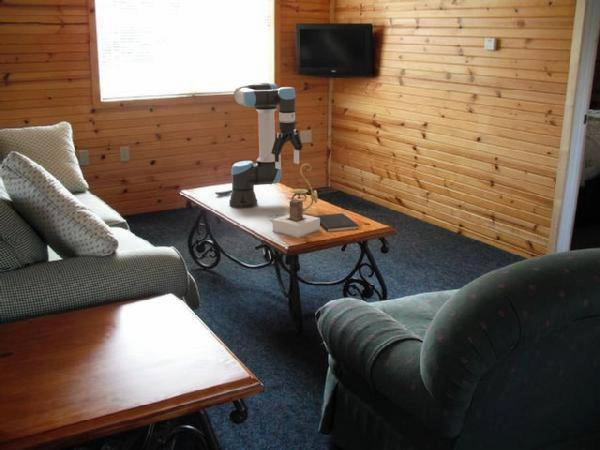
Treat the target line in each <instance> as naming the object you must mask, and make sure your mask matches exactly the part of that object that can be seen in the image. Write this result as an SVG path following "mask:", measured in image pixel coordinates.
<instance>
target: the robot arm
mask: <svg viewBox="0 0 600 450" xmlns="http://www.w3.org/2000/svg"><path fill="white" fill-rule="evenodd" d="M233 98H234V101H235V102H236V104H238V105H241V106H244V107H247V108H248V107H249V108H252V107H253V108H254V110H255V111H256V112H257V117H258V119H257V120H258V122H257V124H258V150H259V151H258V154H259V155H258V157H257V159H256V163H254V162H253V161H252V160H243V161H238V162H235V163H234V164H232V166H231V172H230V173H231V174H230V175H231V188H232V189H231V193H230V199H229V206H230V207H232V208H238V209H242V208H243V209H245V208H246V209H247V208H254V207H256V206H257V205H258V199H257V196H256V193H255V186H260V185H263V186H264V185H270V186H271V185H277V184H278V183H279V182H280V181H281V178H282V169H283V168H282V164H281V163H282V157H281V152H282V150H283V147H284V146H285V144H286V143H288V142H290V143H291V145H292V147H293V148H294V149H293V164H296V165H299V164H300V156H301V155H300V154H301V153H300V152H301V150H302V149H303V147H304V146H303V143H302V140H301V138H300V133H299V129H296V89H295V87H291V86H282V87H280V88H279V87H278V85H277V84H276V83H275V82H258V83H257V82H256V83H245V84H242V85H239V86H238V87H236V88H235V90H234V92H233ZM277 110H278V121H279V122H278V129H279V130H280V133H277V132H276V129H275V128H276V127H275V126H276V125H275V123H276V122H275V112H276V111H277ZM275 132H276V133H275Z"/></svg>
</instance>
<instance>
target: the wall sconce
mask: <svg viewBox="0 0 600 450" xmlns="http://www.w3.org/2000/svg"><path fill="white" fill-rule="evenodd" d="M305 166H308V167H309V168H306V171H308V172H310V171H311V170H312V166H311V164H310V163H303V164H301V166H300V168H299V172H300V175H301V177H302V178H303V180H304V181H305V182H306V184H307V185H308V187H309V189H310V193H311V195H310V199H311V201H310V204H309V205H307V206H306V207H303V211H306V210H308V209H309V208H311V207H312V206H313V205H314V204H313V203H315V204H318V193H317V190H316V189H315V190H313V188H312V185H311V183H310V182H309V180H308V179H307V178H306V177H305V175H304V174H303V167H305ZM309 189H304V188H294V189H290V190H289V192H290V193H292V194H293V195H292V197H291V200H294V199H295V196H297V200H302V201H303V203H305V202H306V201H307V198H308V197H307V195H306V194H307V193H308V192H309ZM302 196H303V197H304V199H301V198H302ZM291 200H290V201H291Z"/></svg>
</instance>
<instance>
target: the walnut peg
mask: <svg viewBox="0 0 600 450" xmlns="http://www.w3.org/2000/svg"><path fill="white" fill-rule="evenodd" d="M302 200H303V199H298V198H297V199H296V198H294V199H293V200H289V214H290V220H291V221H295V222H299V221H302V220H303V215H304V214H303V213H304V212H303V211H304V210H303V208H304V207H303V206H304V202H303V201H302Z"/></svg>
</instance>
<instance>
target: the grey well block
mask: <svg viewBox="0 0 600 450" xmlns="http://www.w3.org/2000/svg"><path fill="white" fill-rule="evenodd" d="M313 216H314V215H312V216H311V215H307V214H303V220H302V221H299V222H295V221H291V220H290V213H288V214H286V215H282V216H279V217H276V218H274V219H272V232H273V233H276V234H280V235H284V236H289V237H293V238H297V239H300V238H302V237H305V236H308V235H311V234H314V233H316V232H319V231H321V226H320V218H317V217H313Z"/></svg>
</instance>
